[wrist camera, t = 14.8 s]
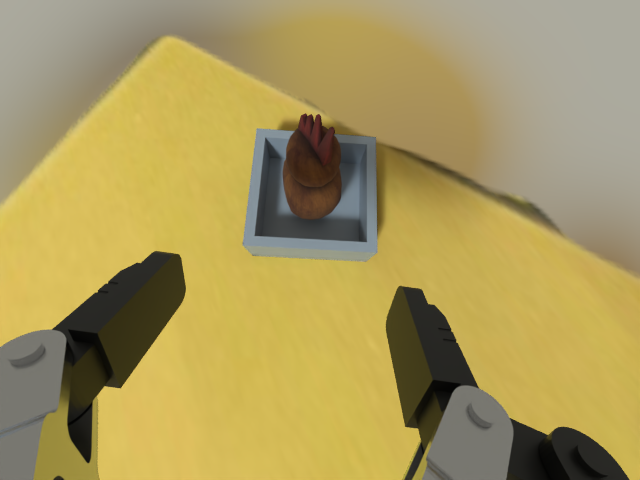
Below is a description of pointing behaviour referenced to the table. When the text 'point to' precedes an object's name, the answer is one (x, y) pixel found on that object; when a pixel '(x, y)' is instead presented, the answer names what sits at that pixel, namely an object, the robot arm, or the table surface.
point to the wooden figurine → (312, 169)
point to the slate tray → (320, 234)
